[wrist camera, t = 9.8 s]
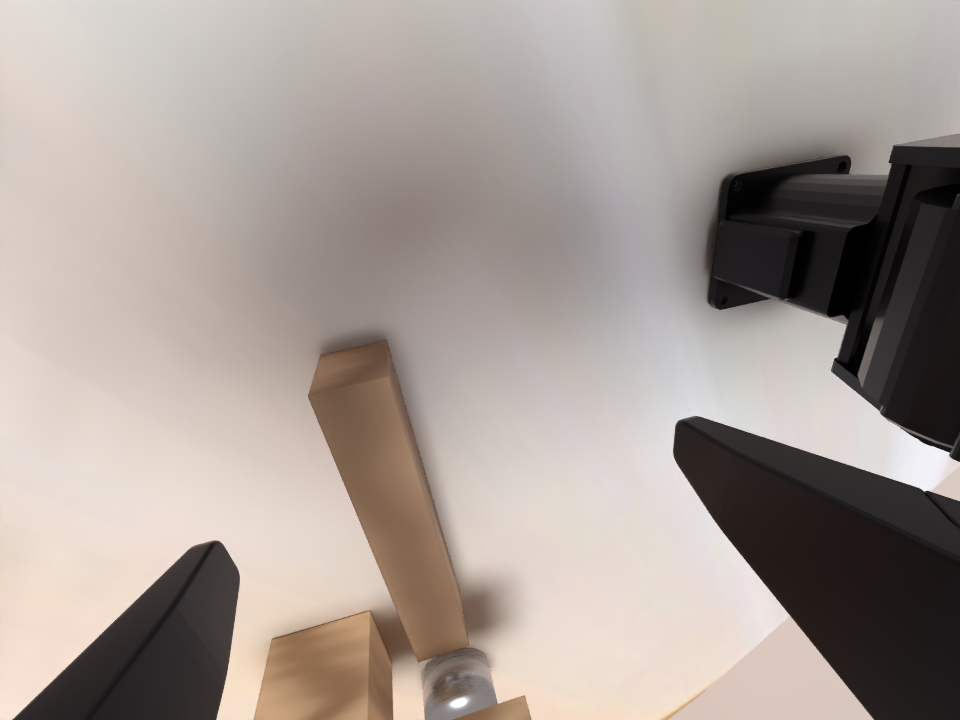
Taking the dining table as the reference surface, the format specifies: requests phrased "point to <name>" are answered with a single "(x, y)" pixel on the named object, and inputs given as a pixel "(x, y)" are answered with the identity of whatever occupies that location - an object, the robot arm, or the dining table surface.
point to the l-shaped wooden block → (342, 677)
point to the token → (457, 684)
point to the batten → (390, 492)
